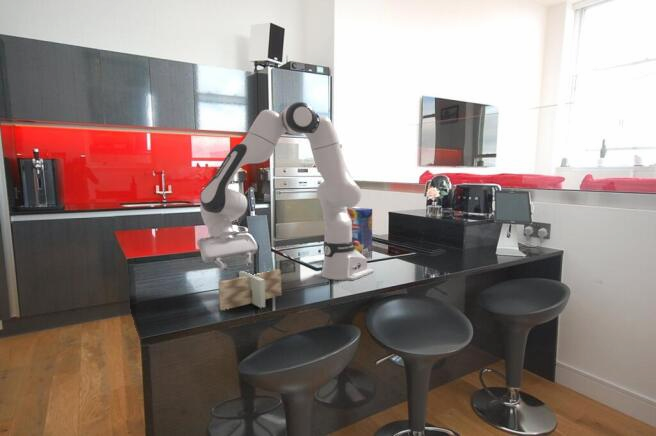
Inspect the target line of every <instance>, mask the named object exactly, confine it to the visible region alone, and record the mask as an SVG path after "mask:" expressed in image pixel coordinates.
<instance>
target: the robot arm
mask: <svg viewBox="0 0 656 436" xmlns="http://www.w3.org/2000/svg"><path fill="white" fill-rule="evenodd" d="M302 134H303V135H305V136H306V138H307V140H308V142H309V145H310V149H311V153H312V156H313V160H314V165H315V167H316V171H318V173H320V176H321V177H322V179H323V181H322V182H321V183H319V185H318V186H317V189H316V195H317V198H318V200H319V203H320V208H321V212H322V217H323V223H324V225H323V226H324V228H323V229H324V241H323V254H324V255H323V264H322V270H321V273H320V276H321V277H322V278H324V279H329V280H338V281H339V280H346V281H348V280H350V281H355V280H357V279H359V278H363V277H365V276H367V275H369V274H372V273H373V272H374V269H372V268H371V267H370V266H368V260H366V258H365V257H364V256H363V255H362V254H360V253H359V252H358V251H357V250H355V246H359V245H360V242H359V241H354V242H353V241H352V222H351V219H350V218H349V215H348V212H347V208H352V207H357V205H358V204H359V203H360V201H361V198H362V191H361V188H360V186H359V185H358V184H357V183H356V182H355V180H354V179H353V176H352V175H351V173H350V171H349V169H348V167H347V165H346V162H345V159H344V156H343V155H344V154H343V153H342V148H341V144H340V141H339V137H338V135H337V131H336V128H335V126H334V124H333V122H332V120H331V119H330V118H329V117H327V116H321V115H320V116H319V114H318V113H317V112H316V111H315V110H314V109H313V108H312V106H310V105H309V104H308V103H306V102H302V101H297V102H294V103H291V104H289V105H287V106H286V107H285V108H284V109H282V110H281V111H280V112H277V111H275V110H272V109H263V110H261V111H260V112H259V114H258V115H257V116H256V118H255V119H254V121H253V122H252V124H251V126H250V128H249V130H248V131H247V134H246V136H245V137H244V139H243V140H242V141H241V142H240V143H238V144H235V145H234V146H233V147H232V148H231V149H230V150H229V152H228V154H227V155H226V157H225V158H224V160H223V161H222V163H221V165H220V166H219V167H218V169H217V171H216V172H215V173H214V176H212V178H211V180H210V181H209V182H208V183H207V184H206V185H205V186H204V187H203V189H202V190H201V192H200V195H199V197H200V201H199V202H200V208H199V209H200V214H201V219H202V220H203V223H204V225H205V226H206V228H207V230H208V234H209V237H202V238H201V237H200V238H199V239H198V240H197V242H196V245H197V246H198V248H199V250H200V255H201V259H202V261H203V262H204V263H215V265H217V266H218V267H220V270H221V271H226V270H227V269H228V265H227V263H226V262H225V263H223V261H224V260H228V259H229V260H230V259H234V258H240V257H245V258H246V260H245V261H244V263H245V264H246V266H251V265H252V264H253V262H252V259H251V258H252V255H255V254H256V253H257V251H258V243H257V242H256V240H255V238H254V237H253V235H252V234H250V233H249V229H248V228H247V227H246V226H240V225H235V224H232V222H235V221H236V220H238V219H240V218H241V217H242V216H244V215H245V213H246V212H247V210H248V204H249V201H248V198H247V196H246V195H245V194H243V193H241V192H239V191H236V190H233V189H230V188H228V187H229V185H231V182H232V181H233V179H234V177H235V176H236V174H237V173H238V171H239V170H240V168H242V166H245V165H248V164H260V163H265V162H266V161H268V160H269V159H270V158H271V156H272V155H273V153H274V151H275V149H276V147H277V145H278V142H279V140H280V138H281V137H282V136H283V135H289V136H298V135H302Z"/></svg>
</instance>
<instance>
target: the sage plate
mask: <svg viewBox="0 0 656 436" xmlns="http://www.w3.org/2000/svg"><path fill="white" fill-rule="evenodd" d="M245 271H246V270H245ZM245 271H244V270H240V271H238V272H239V273H238V276H239V277H243V276H247V277H248V286H249V289H250V290H252V302H253V303H252V304H253V305H254V306H256V307H258V308H260V309H263V308H266V299H265V280H264V279H262V278H259V277H257V276H255V275H252V274H250V273H247V272H245ZM239 277H238V278H239ZM262 307H263V308H262Z"/></svg>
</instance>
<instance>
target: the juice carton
mask: <svg viewBox="0 0 656 436" xmlns="http://www.w3.org/2000/svg"><path fill="white" fill-rule="evenodd" d="M347 212H348V215H349V218H350V219H351V222H352V241H353V242H354V241H359V242H360V245H359V246H355V250H357V251H358V252H359V253H360V254H362V255H363V256H364V257H365V258H366V260H367V259H368V260H372V259H373V208H367V207H357V206H354V207H351V208H347ZM368 260H367V261H368Z"/></svg>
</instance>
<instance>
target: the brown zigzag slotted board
mask: <svg viewBox="0 0 656 436" xmlns="http://www.w3.org/2000/svg"><path fill="white" fill-rule="evenodd" d="M281 272H282V270H281V269H280V268H277V269H273V270H270V271H267V272H262V273H257V274H254V275H255V276H257V277H259V278H262V279H264V280H265V300H268V299H272V298H275V297H279V296H282V273H281ZM218 294H219V310H220V309H221V310H220V311H222V310H224V311H226V310H225V309H227V310H230V308H231V309H234V308H238V307H242V306H245V305H249V304H253V302H252V290H250V289H249V286H248V277H247V276H243V277H235V278H230V279H226V280H221V281H218Z"/></svg>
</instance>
